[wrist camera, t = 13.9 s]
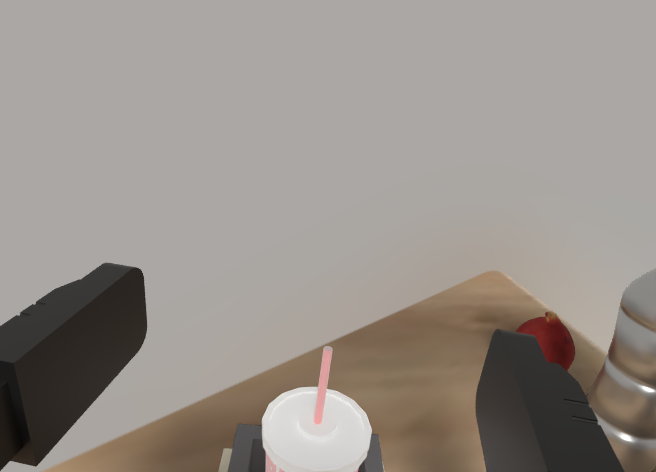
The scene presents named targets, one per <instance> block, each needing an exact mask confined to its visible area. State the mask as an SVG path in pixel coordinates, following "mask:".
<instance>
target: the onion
mask: <svg viewBox="0 0 656 472" xmlns="http://www.w3.org/2000/svg"><path fill="white" fill-rule="evenodd" d="M545 315H546V316H545V317H538V318H534V319H531V320H529V321H527V322H525V323H523V324H522V325H521V326H520V327H519V328H518V329H517V331H516V332H517V333H523V334H529V335H534V336H535V337H536V338H537V340H538V343H539V345H540V347H541V349H542V351H543V354H544V356H545V358H546V360H547V362H551V363H557V364H560V365H561V366H562V367H563V368H564V369H565V370H566V371H567V370H568V368H569V367H570V365H571V364H572V362H573V360H574V356H575V346H574V343H573V340H572V337H571V335H570V333H569V331H568V329H567V328H566V327H565V326H564V325H563V324H562V323H561V321H560V320H559V318H558V317H557V315H556V313H553V312H546V313H545Z"/></svg>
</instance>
